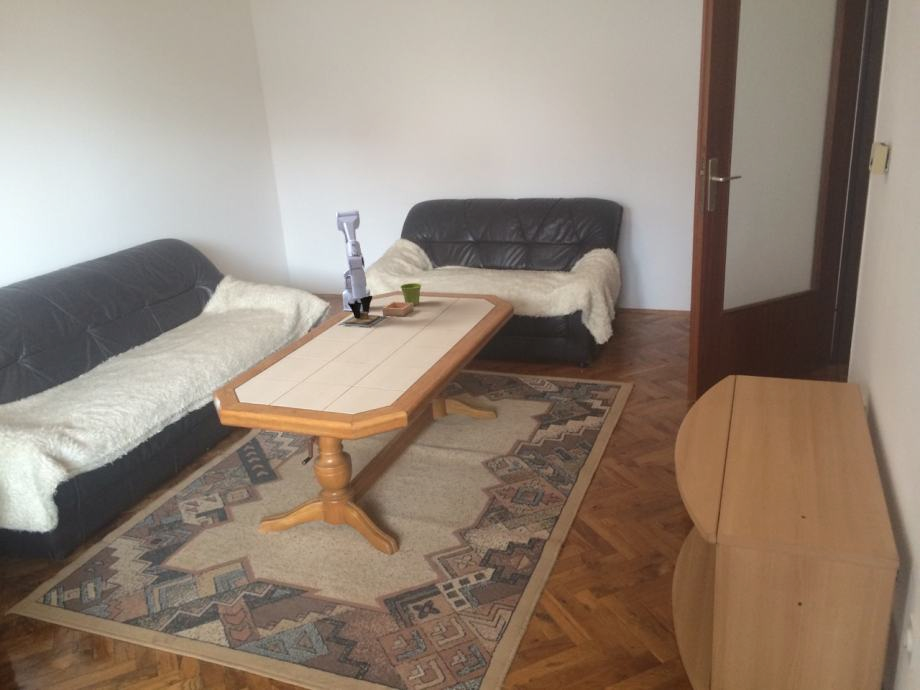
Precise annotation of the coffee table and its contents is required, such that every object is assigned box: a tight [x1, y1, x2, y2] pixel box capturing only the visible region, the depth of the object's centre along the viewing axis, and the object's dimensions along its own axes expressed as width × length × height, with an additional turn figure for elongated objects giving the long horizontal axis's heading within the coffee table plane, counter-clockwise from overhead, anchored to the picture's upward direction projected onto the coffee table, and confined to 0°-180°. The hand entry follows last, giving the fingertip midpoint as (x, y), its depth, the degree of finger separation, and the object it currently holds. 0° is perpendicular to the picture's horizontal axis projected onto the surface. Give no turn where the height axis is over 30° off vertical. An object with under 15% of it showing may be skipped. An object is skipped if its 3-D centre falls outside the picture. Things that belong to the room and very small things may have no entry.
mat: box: [338, 315, 388, 328], centre depth 318 cm, size 15×15×1 cm
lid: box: [344, 311, 381, 325], centre depth 318 cm, size 11×11×4 cm
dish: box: [382, 301, 415, 318], centre depth 326 cm, size 10×10×4 cm
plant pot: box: [400, 282, 422, 306], centre depth 337 cm, size 9×9×9 cm
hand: (362, 315), depth 317 cm, fingers open, 7 cm apart
